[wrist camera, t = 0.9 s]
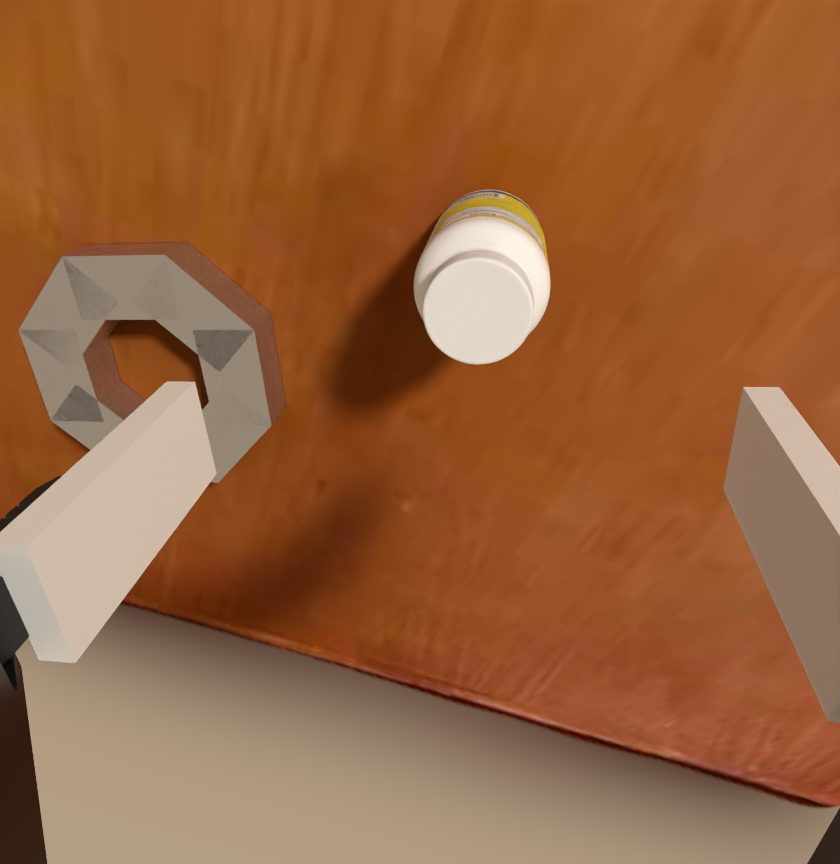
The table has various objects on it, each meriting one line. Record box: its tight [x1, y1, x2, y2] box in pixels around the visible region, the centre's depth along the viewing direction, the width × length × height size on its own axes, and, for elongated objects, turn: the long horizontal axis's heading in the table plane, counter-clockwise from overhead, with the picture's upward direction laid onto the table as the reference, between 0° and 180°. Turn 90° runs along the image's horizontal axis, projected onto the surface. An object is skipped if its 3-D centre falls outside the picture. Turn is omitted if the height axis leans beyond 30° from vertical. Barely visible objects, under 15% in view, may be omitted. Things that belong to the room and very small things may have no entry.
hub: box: [19, 242, 286, 483], centre depth 36 cm, size 13×13×3 cm
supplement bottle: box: [414, 190, 550, 364], centre depth 28 cm, size 5×5×10 cm
